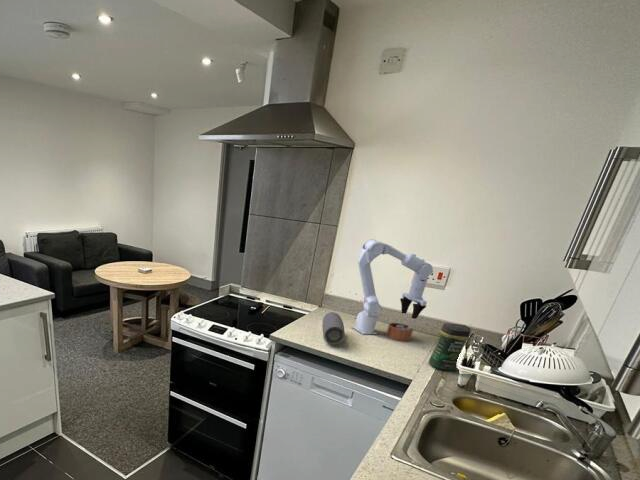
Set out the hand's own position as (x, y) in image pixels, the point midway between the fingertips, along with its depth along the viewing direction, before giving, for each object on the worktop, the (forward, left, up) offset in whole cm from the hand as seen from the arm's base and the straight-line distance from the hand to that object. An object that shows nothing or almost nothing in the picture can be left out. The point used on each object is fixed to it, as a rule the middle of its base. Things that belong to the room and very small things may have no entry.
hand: (408, 315), depth 188 cm
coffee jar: (+35, -7, -11) cm, 37 cm away
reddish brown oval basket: (+1, -3, -10) cm, 11 cm away
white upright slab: (+3, -4, -10) cm, 11 cm away
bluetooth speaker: (+5, -41, -11) cm, 43 cm away
